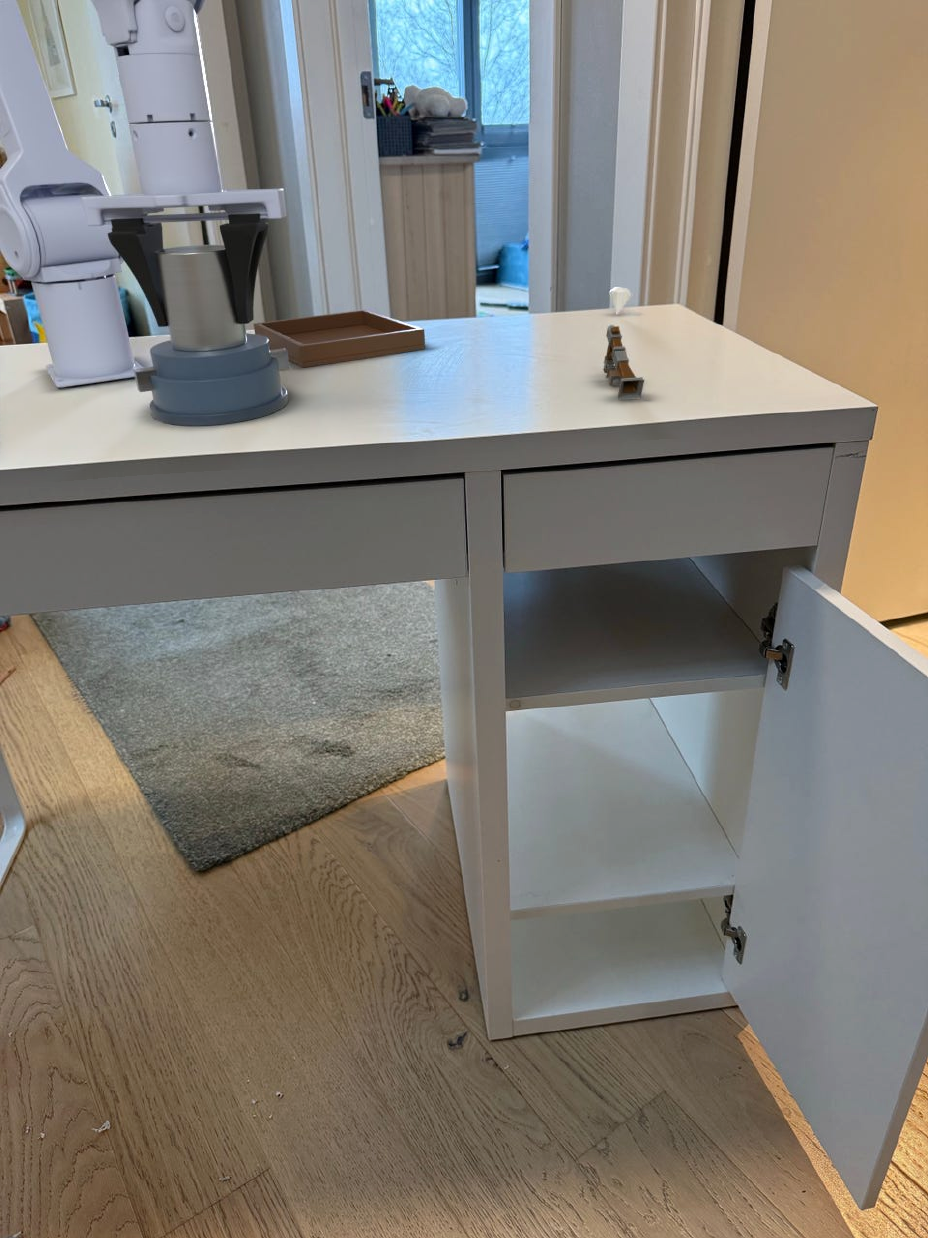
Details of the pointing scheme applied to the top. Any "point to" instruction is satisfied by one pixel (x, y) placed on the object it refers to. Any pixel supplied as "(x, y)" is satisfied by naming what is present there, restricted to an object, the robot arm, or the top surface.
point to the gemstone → (620, 297)
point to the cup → (199, 298)
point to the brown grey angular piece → (620, 367)
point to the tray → (340, 337)
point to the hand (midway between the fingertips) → (206, 323)
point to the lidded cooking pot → (214, 383)
